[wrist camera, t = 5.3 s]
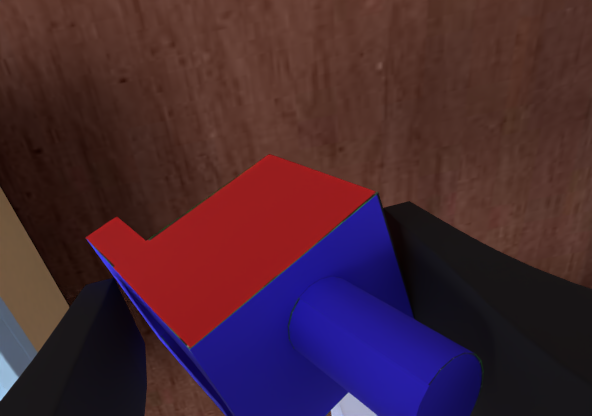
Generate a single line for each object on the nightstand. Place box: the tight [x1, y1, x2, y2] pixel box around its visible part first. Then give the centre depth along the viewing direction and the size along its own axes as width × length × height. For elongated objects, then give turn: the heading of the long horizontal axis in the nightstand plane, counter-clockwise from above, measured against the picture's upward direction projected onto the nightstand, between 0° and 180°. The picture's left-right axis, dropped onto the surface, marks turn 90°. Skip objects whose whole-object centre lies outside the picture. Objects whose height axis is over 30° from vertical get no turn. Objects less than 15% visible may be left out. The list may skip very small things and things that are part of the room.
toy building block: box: [85, 154, 484, 416], centre depth 10 cm, size 4×4×8 cm
